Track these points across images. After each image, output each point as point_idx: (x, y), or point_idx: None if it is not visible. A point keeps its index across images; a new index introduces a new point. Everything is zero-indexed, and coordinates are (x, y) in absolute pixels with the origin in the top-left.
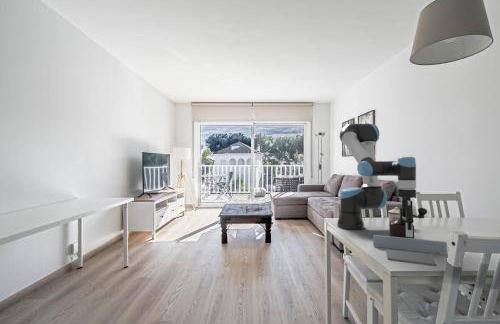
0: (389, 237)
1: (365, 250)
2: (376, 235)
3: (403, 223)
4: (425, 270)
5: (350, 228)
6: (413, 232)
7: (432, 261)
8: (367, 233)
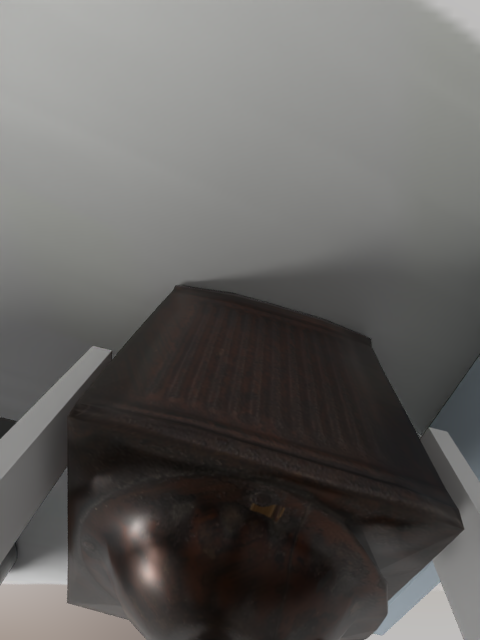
0: (434, 580)
1: (436, 589)
2: (384, 625)
3: (351, 623)
4: None
5: (11, 553)
6: (414, 443)
7: None
8: (65, 497)
